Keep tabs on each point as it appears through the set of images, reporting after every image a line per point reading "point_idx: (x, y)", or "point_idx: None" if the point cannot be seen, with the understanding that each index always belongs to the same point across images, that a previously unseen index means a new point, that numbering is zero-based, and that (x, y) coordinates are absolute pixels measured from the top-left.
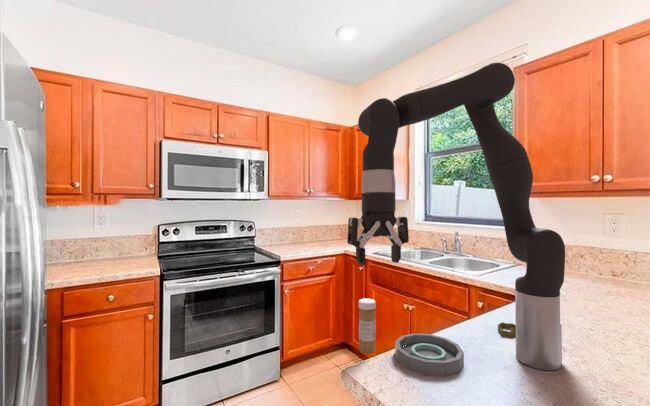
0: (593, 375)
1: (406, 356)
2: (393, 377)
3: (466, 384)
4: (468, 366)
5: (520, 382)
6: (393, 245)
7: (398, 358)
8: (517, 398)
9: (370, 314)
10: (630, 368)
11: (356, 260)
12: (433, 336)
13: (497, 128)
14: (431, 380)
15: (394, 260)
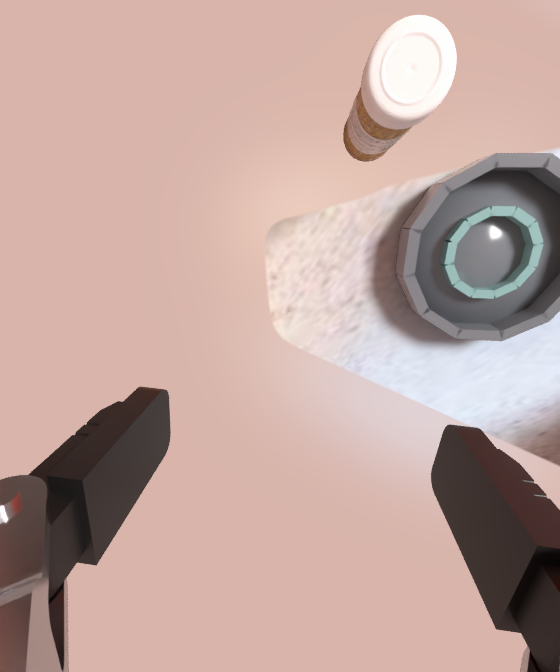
0: None
1: (403, 269)
2: (340, 285)
3: (452, 366)
4: None
5: (552, 405)
6: (536, 579)
7: (402, 234)
8: (488, 428)
9: (388, 131)
10: None
11: (109, 406)
12: None
13: None
14: (403, 327)
15: (441, 466)
